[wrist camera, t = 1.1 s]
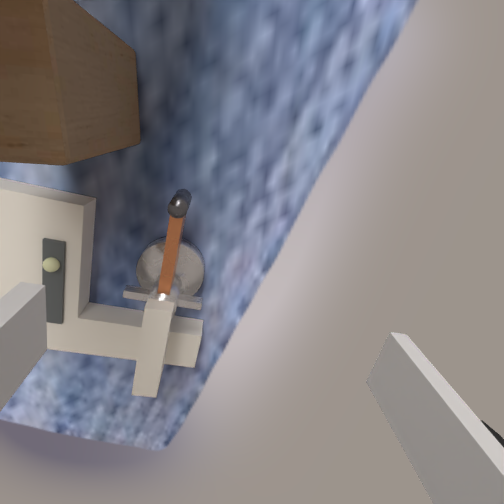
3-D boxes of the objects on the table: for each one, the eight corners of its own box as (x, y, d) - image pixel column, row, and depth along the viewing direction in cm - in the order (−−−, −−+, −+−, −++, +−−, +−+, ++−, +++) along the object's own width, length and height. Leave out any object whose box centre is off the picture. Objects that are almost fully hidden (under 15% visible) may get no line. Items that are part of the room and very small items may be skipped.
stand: (-45, 168, 37) (-150, 187, 27) (225, 225, 43) (226, 259, 32) (-30, 318, 45) (-107, 379, 34) (196, 349, 51) (189, 409, 40)
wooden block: (39, 39, 33) (-187, -63, 15) (136, 49, 34) (38, -33, 16) (55, 138, 37) (-109, 156, 19) (141, 144, 38) (68, 166, 20)
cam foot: (198, 307, 48) (193, 347, 39) (133, 297, 46) (114, 336, 38) (223, 192, 41) (224, 210, 33) (149, 175, 39) (130, 189, 31)
